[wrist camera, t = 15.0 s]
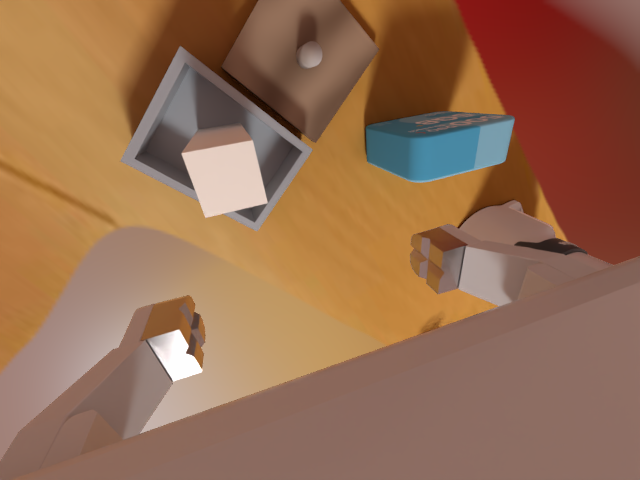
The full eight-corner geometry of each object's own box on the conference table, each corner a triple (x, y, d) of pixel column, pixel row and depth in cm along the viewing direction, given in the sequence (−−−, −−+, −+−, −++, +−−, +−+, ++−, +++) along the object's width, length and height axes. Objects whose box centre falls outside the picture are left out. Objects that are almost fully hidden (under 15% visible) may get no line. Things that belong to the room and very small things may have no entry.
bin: (301, 143, 33) (312, 150, 29) (252, 215, 35) (257, 231, 31) (186, 54, 26) (180, 45, 22) (135, 151, 28) (120, 161, 24)
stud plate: (372, 51, 31) (391, 45, 27) (312, 141, 33) (322, 146, 30) (288, -52, 25) (298, -75, 21) (221, 67, 27) (221, 63, 24)
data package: (440, 110, 37) (523, 115, 27) (437, 144, 39) (513, 161, 29) (360, 125, 34) (419, 137, 24) (362, 161, 37) (416, 185, 26)
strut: (239, 122, 29) (252, 140, 17) (250, 163, 31) (267, 203, 20) (197, 129, 28) (181, 153, 16) (211, 171, 30) (205, 217, 19)
